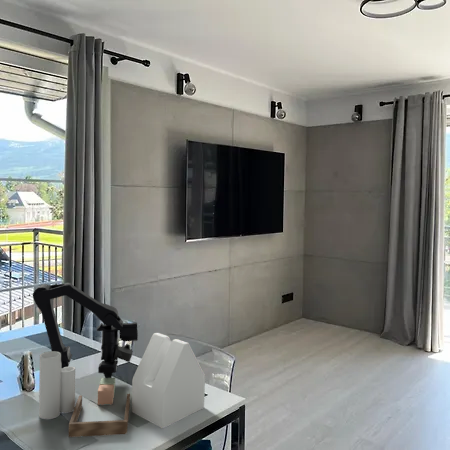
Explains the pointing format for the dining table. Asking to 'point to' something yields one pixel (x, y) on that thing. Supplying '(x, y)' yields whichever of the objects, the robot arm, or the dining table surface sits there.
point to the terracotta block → (105, 394)
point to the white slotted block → (167, 382)
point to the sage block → (108, 382)
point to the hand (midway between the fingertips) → (109, 382)
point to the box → (97, 423)
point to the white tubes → (55, 386)
